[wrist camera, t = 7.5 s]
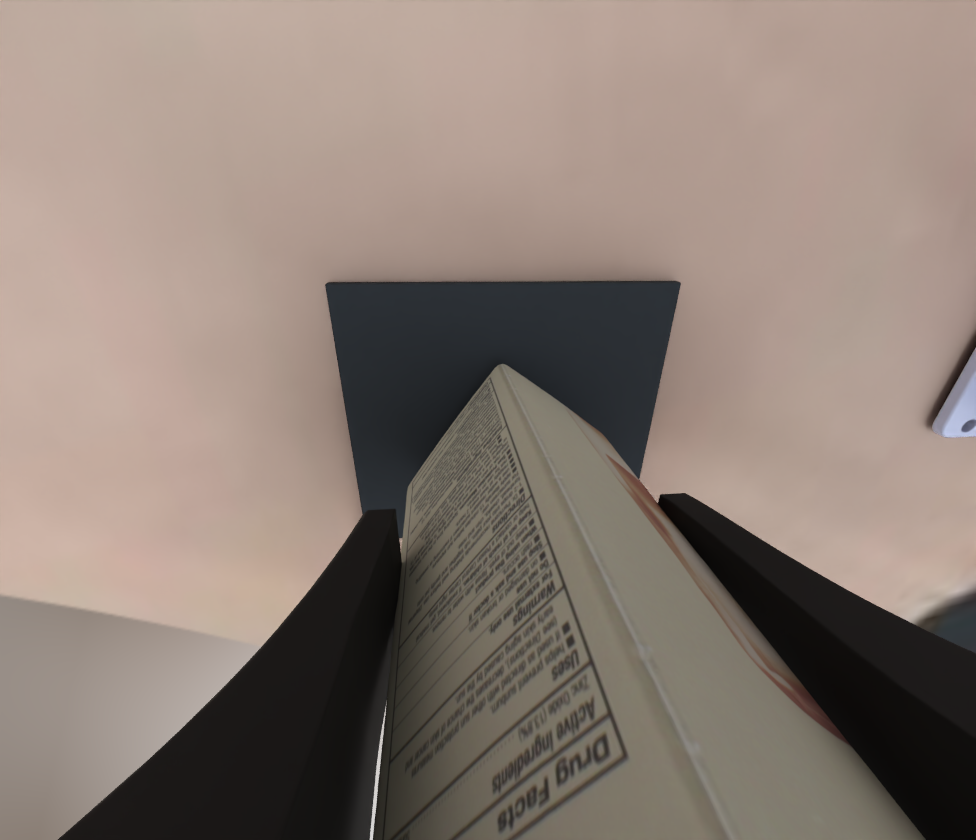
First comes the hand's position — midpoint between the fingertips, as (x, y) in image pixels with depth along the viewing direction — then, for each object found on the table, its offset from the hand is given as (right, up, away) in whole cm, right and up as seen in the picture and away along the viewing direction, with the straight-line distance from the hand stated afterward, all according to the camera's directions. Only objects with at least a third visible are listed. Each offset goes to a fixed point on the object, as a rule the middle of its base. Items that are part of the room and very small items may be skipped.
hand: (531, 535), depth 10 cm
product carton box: (0, +2, +3) cm, 4 cm away
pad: (0, +3, +4) cm, 5 cm away
